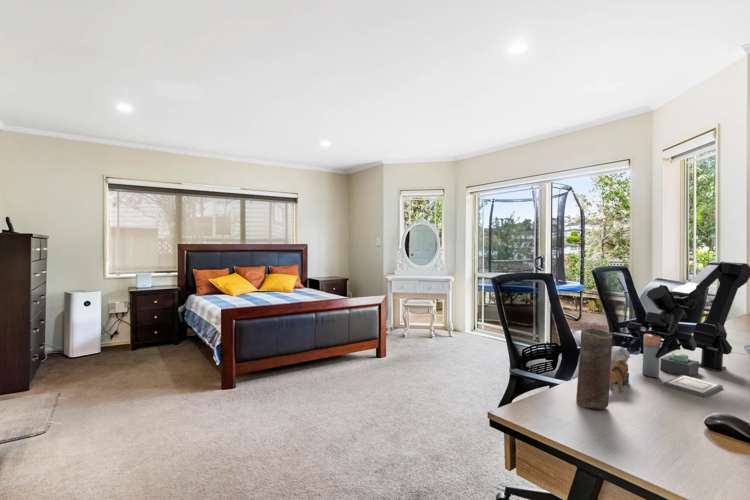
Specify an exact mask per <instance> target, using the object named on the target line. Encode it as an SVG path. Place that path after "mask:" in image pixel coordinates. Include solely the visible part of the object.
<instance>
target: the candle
mask: <svg viewBox="0 0 750 500" xmlns="http://www.w3.org/2000/svg"><path fill="white" fill-rule="evenodd" d="M612 347H613V335H612V334H610V333H608V331H605V330H601V329H597V328H582V329H581V333H580V347H579V358H578V373H577V385H576V386H577V387H576V399H575V402H576V403H578V404H579V405H581V406H582V407H584V408H585V407H586V408H587V407H588V408H589V409H590V408H591V409H595V410H603V409H607V408H608V406H609V399H610V398H609V397H610V389H609V386H610V368H611V351H612Z"/></svg>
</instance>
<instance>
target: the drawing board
mask: <svg viewBox="0 0 750 500" xmlns="http://www.w3.org/2000/svg"><path fill="white" fill-rule="evenodd" d="M663 386H664V387H667V388H671V389H675V390H678V391H681V392H685V393H689V394H691V395H694V396H699V397H701V398H707V397H708V396H710V395H713V394H715V393H716V392H718V391H720V390H722V389H723V387H724V386H723V384H719V383H715V382H712V381H708V380H705V379H701V378H696V377H693V376H691V377H689V376H686V375H678V376H676V377H673V378H672V379H669V380H667V381H664V382H663Z"/></svg>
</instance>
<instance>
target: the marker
mask: <svg viewBox="0 0 750 500" xmlns="http://www.w3.org/2000/svg"><path fill="white" fill-rule="evenodd" d="M661 340H662V339H661V336H658V335H653V334H644V339H643V344H644V347H643V354H642V367H641V368H642V370H641V372H642V375H644V376H646V377H651V378H658V377H660V361H661V357H660V358H657V357H656V355H657V352H658V351H659V349H660V347H661V346H662V344H661V343H662V341H661Z"/></svg>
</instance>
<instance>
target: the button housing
mask: <svg viewBox="0 0 750 500" xmlns="http://www.w3.org/2000/svg"><path fill="white" fill-rule="evenodd" d="M671 359H672V354H671V355H670V354H669V355H668V356H667V355H666V356H663V357H660V364H659V371H662V372H666V373H667V372H668V373H671V374H675V375H678V376H681V375H686V376H689V377H693V376H696V375H698V374H699V369H700V366H699V363H700V362H699V361H697V360H694V359H693V360H692V359H691V358H688V363H682V362H678V361H674V360H671Z"/></svg>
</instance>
